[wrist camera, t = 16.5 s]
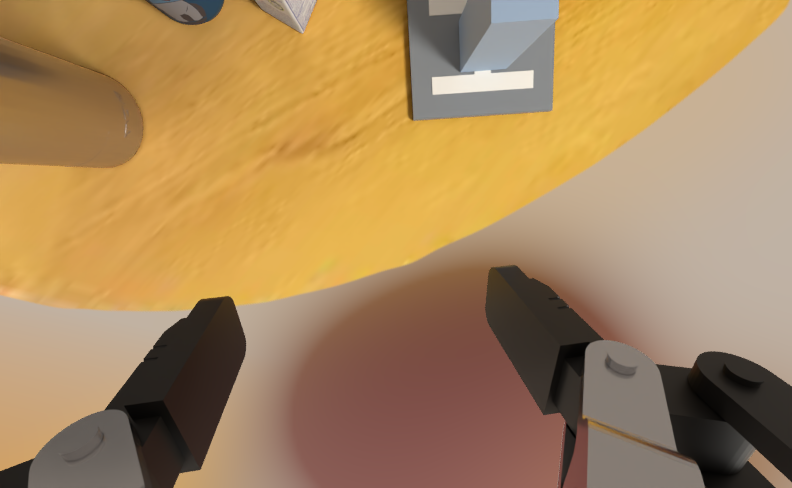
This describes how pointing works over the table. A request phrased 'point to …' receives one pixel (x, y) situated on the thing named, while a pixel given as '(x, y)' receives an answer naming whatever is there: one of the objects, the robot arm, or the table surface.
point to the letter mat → (471, 91)
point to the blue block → (501, 31)
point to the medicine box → (289, 11)
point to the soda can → (189, 10)
